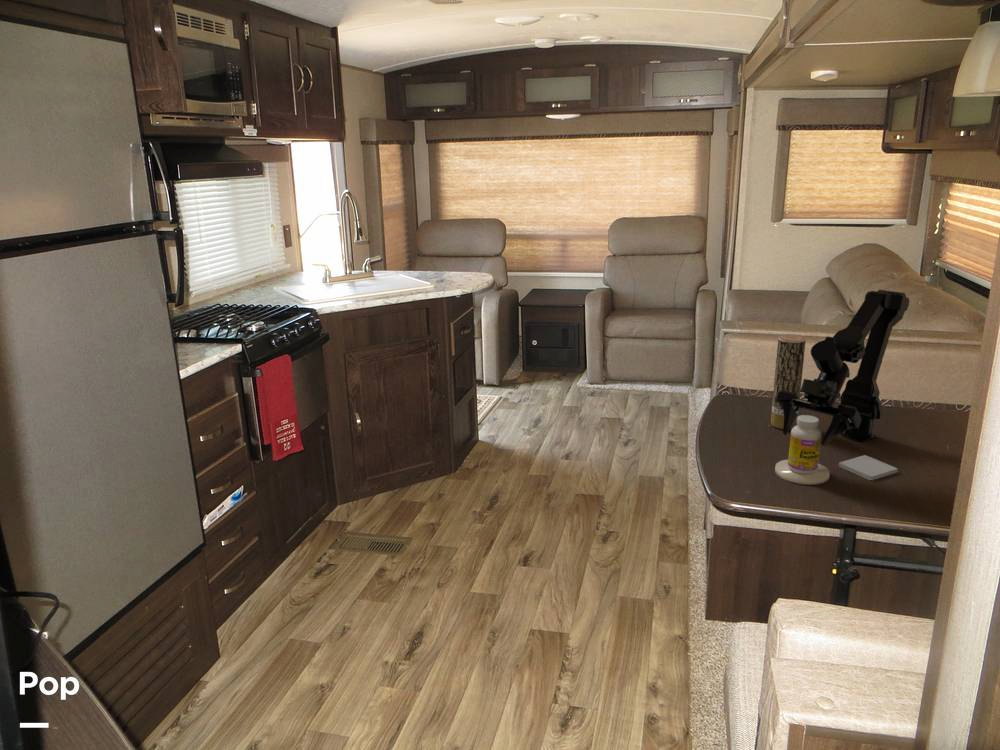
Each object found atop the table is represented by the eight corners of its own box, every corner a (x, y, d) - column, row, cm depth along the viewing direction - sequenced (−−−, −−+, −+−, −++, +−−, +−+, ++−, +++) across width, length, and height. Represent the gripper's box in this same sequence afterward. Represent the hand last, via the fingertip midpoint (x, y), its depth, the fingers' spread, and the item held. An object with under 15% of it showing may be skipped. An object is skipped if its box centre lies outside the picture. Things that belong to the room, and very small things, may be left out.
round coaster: (800, 459, 187) (800, 455, 186) (840, 477, 176) (841, 473, 176) (763, 469, 182) (764, 465, 181) (803, 489, 171) (803, 485, 171)
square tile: (864, 458, 186) (865, 454, 185) (897, 472, 178) (897, 468, 178) (838, 466, 182) (839, 462, 182) (870, 480, 174) (871, 476, 174)
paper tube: (774, 419, 212) (782, 333, 204) (799, 424, 208) (808, 336, 200) (767, 427, 207) (775, 338, 199) (792, 432, 203) (801, 342, 195)
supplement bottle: (795, 476, 175) (800, 424, 171) (782, 464, 182) (787, 414, 178) (822, 474, 176) (828, 422, 172) (809, 462, 182) (814, 412, 178)
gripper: (782, 357, 180) (755, 413, 176) (862, 373, 167) (834, 434, 163) (795, 381, 188) (769, 435, 184) (872, 398, 175) (846, 456, 171)
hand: (802, 439), depth 175 cm, fingers open, 9 cm apart
